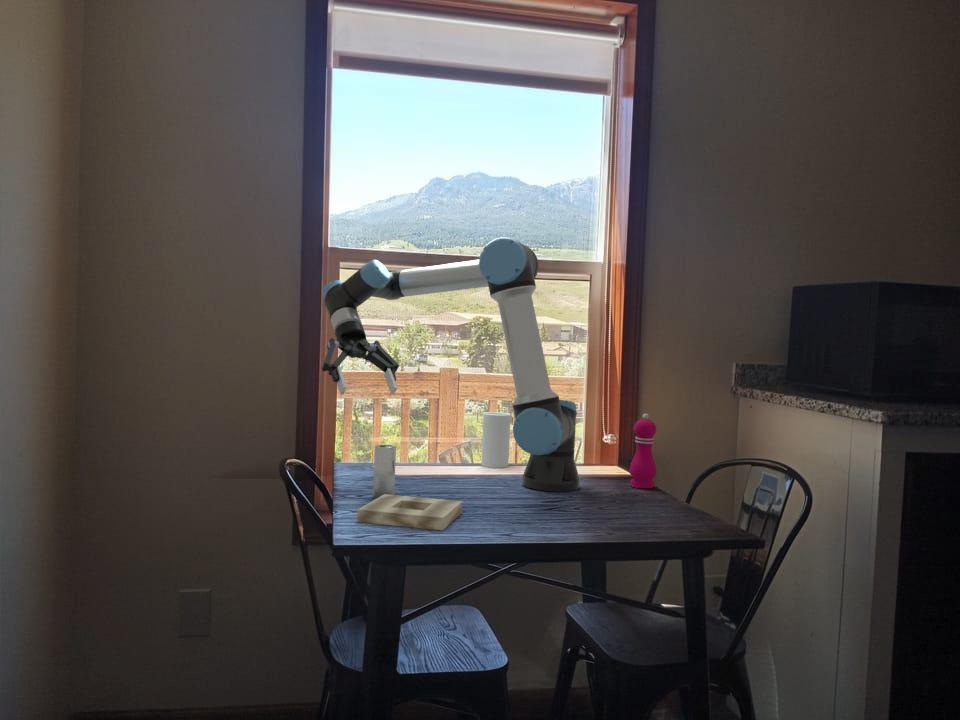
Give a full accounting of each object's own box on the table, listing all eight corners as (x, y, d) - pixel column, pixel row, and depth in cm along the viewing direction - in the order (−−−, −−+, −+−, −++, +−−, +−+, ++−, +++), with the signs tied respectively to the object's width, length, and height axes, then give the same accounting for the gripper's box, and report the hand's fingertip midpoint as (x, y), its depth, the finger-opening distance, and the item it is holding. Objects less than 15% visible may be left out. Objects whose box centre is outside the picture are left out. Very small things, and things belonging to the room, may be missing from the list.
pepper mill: (647, 484, 203) (651, 412, 202) (660, 489, 196) (664, 415, 195) (624, 484, 201) (627, 412, 200) (636, 489, 194) (639, 414, 193)
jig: (462, 512, 160) (462, 501, 160) (442, 530, 144) (443, 517, 144) (384, 505, 164) (384, 494, 163) (357, 521, 148) (357, 509, 148)
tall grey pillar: (397, 495, 174) (399, 445, 174) (390, 500, 169) (392, 447, 169) (377, 494, 175) (379, 443, 175) (369, 498, 170) (371, 446, 170)
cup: (508, 468, 218) (510, 415, 218) (481, 467, 218) (483, 414, 218) (508, 464, 226) (510, 412, 226) (481, 462, 227) (483, 411, 226)
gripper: (386, 341, 201) (408, 400, 189) (298, 336, 188) (316, 400, 176) (396, 322, 197) (419, 382, 185) (306, 316, 183) (325, 380, 171)
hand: (369, 391), depth 180 cm, fingers open, 13 cm apart
